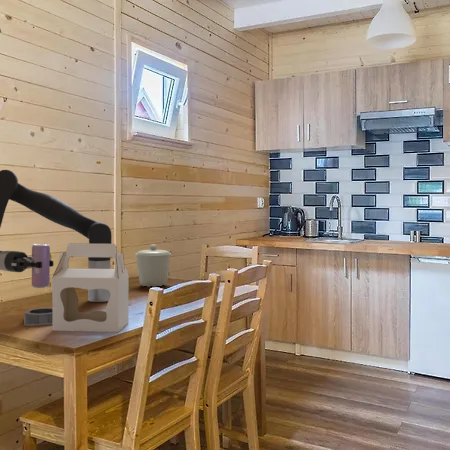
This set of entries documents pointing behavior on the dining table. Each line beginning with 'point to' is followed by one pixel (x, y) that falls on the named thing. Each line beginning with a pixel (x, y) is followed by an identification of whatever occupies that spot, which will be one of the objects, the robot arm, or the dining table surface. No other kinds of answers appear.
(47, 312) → the ring collar
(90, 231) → the robot arm
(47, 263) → the beverage can
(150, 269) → the canister
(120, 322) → the gable box
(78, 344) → the dining table surface
